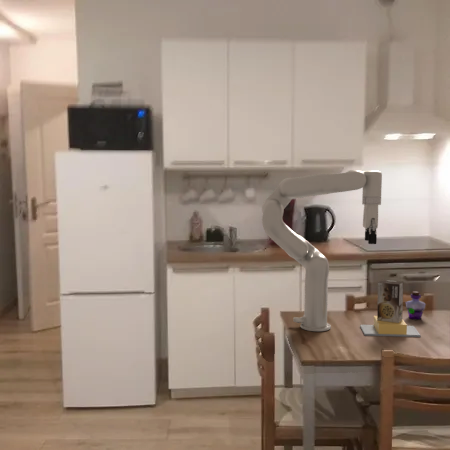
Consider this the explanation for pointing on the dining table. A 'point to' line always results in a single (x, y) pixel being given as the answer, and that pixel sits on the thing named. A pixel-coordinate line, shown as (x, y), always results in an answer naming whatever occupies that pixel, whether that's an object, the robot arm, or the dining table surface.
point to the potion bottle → (415, 306)
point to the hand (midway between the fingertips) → (370, 242)
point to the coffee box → (390, 301)
